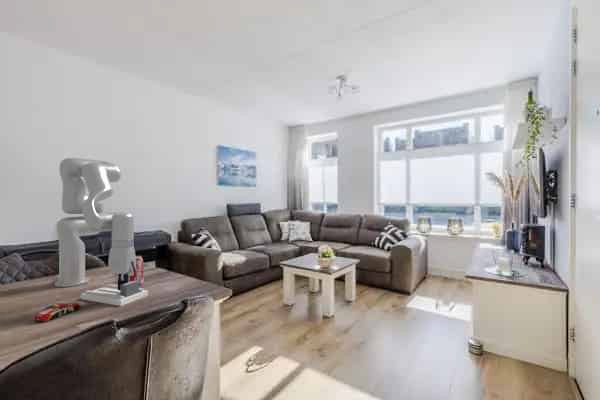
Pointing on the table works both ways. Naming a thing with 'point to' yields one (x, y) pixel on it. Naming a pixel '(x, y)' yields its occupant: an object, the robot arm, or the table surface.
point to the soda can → (138, 271)
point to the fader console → (112, 295)
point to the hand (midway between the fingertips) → (122, 289)
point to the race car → (56, 311)
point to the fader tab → (129, 288)
